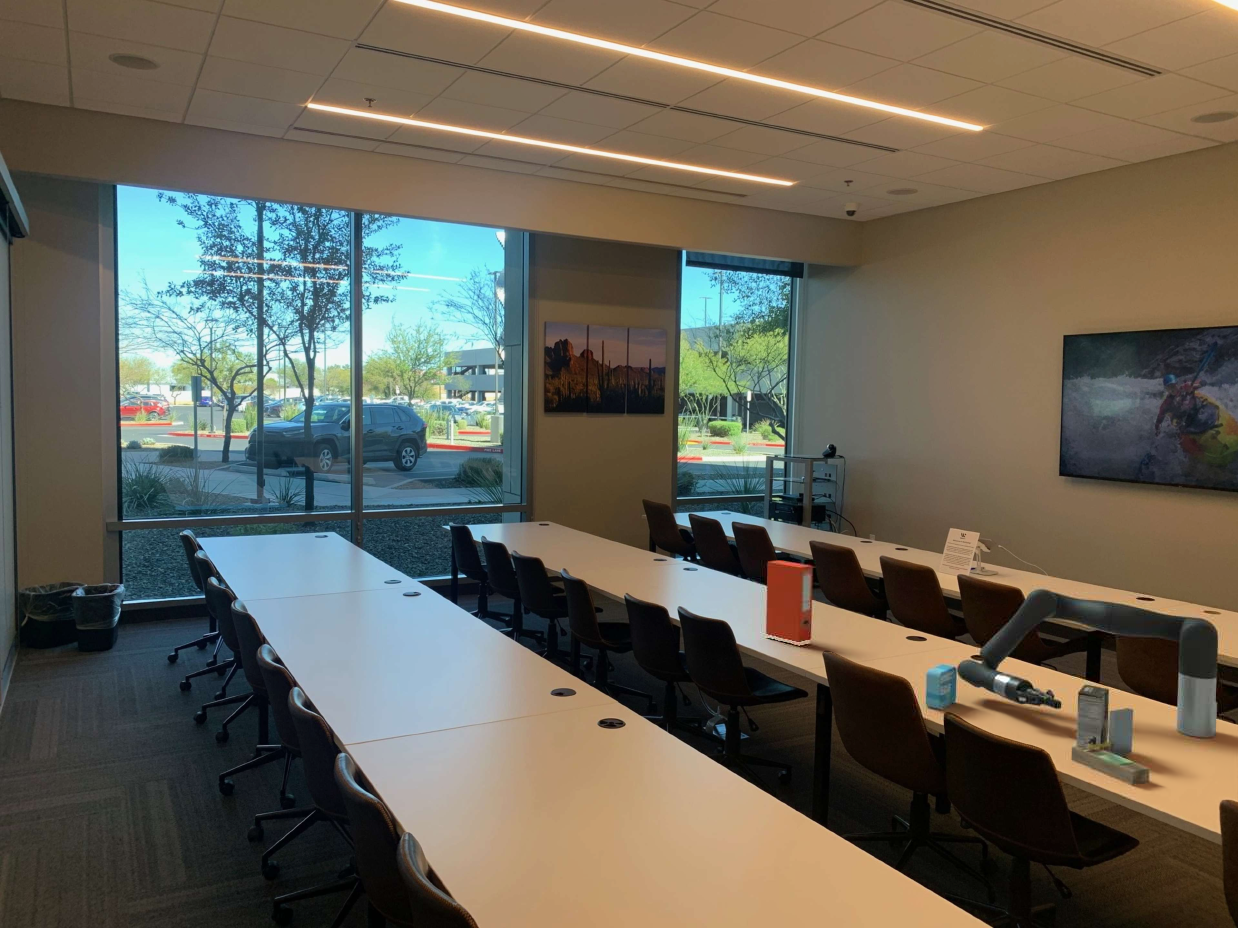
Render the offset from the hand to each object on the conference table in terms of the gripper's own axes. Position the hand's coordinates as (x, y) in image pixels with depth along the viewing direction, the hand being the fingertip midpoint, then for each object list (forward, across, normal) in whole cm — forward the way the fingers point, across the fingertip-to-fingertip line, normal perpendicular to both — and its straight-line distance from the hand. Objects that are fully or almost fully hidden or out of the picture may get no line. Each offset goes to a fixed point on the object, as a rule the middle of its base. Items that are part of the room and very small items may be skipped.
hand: (1059, 705), depth 259 cm
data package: (-33, -14, +9) cm, 37 cm away
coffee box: (+11, 0, +8) cm, 14 cm away
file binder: (-120, -15, +9) cm, 121 cm away
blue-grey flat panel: (+20, -4, +7) cm, 22 cm away
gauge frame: (+25, -10, +8) cm, 28 cm away
